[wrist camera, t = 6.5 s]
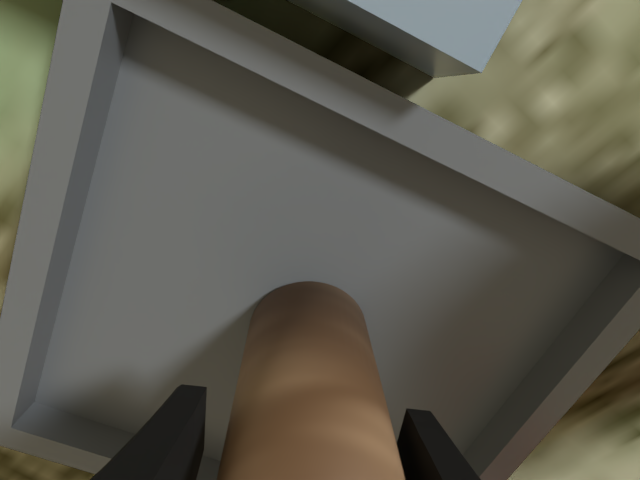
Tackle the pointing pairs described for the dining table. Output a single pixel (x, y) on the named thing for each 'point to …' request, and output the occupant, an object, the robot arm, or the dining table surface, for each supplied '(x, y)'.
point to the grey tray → (286, 242)
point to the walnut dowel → (309, 394)
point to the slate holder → (424, 29)
